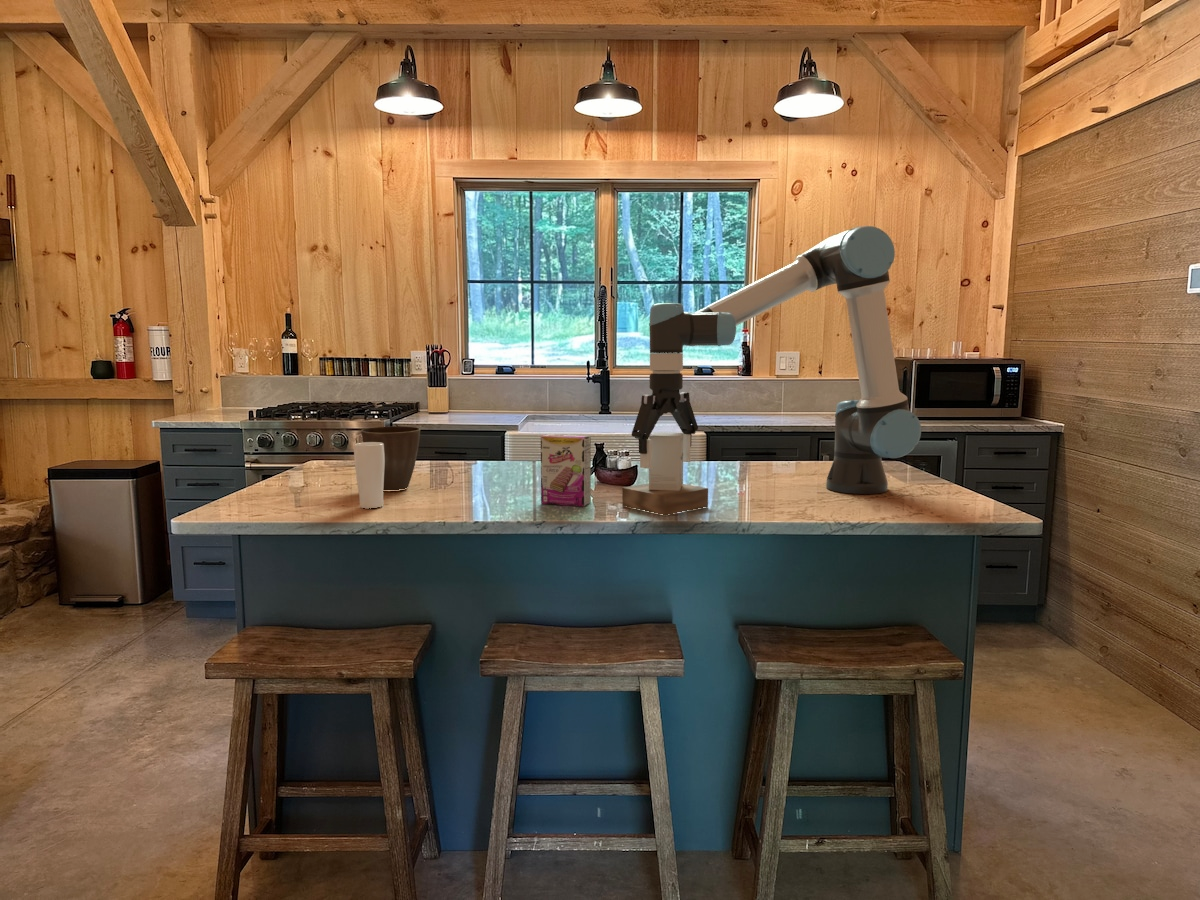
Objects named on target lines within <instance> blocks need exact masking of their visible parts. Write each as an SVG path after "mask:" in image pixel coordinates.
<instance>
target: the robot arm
mask: <svg viewBox="0 0 1200 900" xmlns="http://www.w3.org/2000/svg"><path fill="white" fill-rule="evenodd" d="M895 251H896V250H895V246H894V242H893V240H892V238H891V237H890V236H889V234H888V233H886V231H884V230H882V229H881V228H879V227H877V226H871V225H864V226H857V227H853V228H851V229H848V230H845V231H842V232H840V233H835V234H833V235H831V236H829V237H828V238H826V239H824V240H822V241H821V242H819V243H817V244H816V245H815V246H813V247H811V248H810V249H809V250H807V251H804V252H803V253H801V254H799V255H798V256H797V255H796V257H795V258H794V262H793V263H791V264H788V265H787V266H784V267H782V268H781V269H778V270H777V271H774V272H772V273H770V274H768V275H766V276H764V277H762V278H760V279H758V280H756V281H754V282H752V283H750V284H749V285H746V286H744V287H742V288H740V289H739V290H737V291H735V292H733V293H731V294H729V295H726V296H724V297H722V298H721V299H718V300H717V301H715V302H713V303H711V304H709V305H707V306H706V307H704V308H701V309H698V310H697V311H695V312H689V311H688V312H687V311H685V310H684V305H683V304H682V303H678V302H676V303H674V302H663V303H660V302H658V303H654V304H652V305H651V307H650V311H649V323H648V325H649V371H650V372H652V373H649V389H650V390H651V392H652V393H651V394H642V395H641V402H640V407H639V410H638V413H637V416H636V418H635V422H634V425H633V428H632V430H631V437H634V439H636V440H638V453H639V456H640V457H639V468H643V469H647V470H649V469H650V468H651V439H649V436H650V435H651V434H652V433H653V431H654V429H655V427H656V425H657V423H658V421H659V420H660V417H661V416H663V415H665V414H671V415H672V417H673V419H674V421H675V422H676V424H677V426H678V427H679V429H680V431H681V433H684V436H683V463H685V462H686V463H691V447H692V435H695V434H696V433H697V431H698V430H699V427H698V422H697V420H696V416H695V414H694V411H693V407H692V405H691V401H690V393H689V392H687V391H686V392H685V391H680V390H682V389H683V379H684V378H683V377H684V376H683V374H682V372H681V371H683V370H684V353H683V351H684V350H683V348H684V346H686V347H687V346H688V347H697V346H699V347H700V346H703V347H705V346H707V347H709V346H710V347H711V346H716V347H717V346H718V347H721V346H730V345H732V344H733V343H734V341H735V338H736V335H737V326H739V325H741V324H742V323H744V322H746V321H748V320H751V319H752V318H754V317H757V316H758V315H760V314H763V313H765V312H767V311H768V310H770V309H772V308H775V307H777V306H779V305H781V304H783V303H785V302H787V301H788V300H791V299H792V298H795V297H797V296H799V295H801V294H803V293H805V292H807V291H808V292H811V293H814V292H816V291H818V290H819V289H821V288H824V287H828V286H831V285H835V284H836V289H837V293H838V294H839V295H841V296H843V297H844V299H845V302H846V307H847V308H846V309H847V313H848V314H847V316H848V321H849V327H850V333H851V339H852V347H853V352H854V358H855V364H856V370H857V377H858V382H859V390H860V395H861V397H860V399H858V400H857V399H854V400H843V401H840V402H838V403H837V405H836V408H835V414H834V418H835V421H834V423H835V425H834V426H835V428H834V454H833V455H834V457H833V461H832V464H831V467H830V470H829V472H828V473H827V474H828V475H827V477H826V481H825V482H826V484H825V485H826V486H825V487H826V489H827V490H829V491H833V492H836V493H845V494H854V495H855V494H856V495H857V494H858V495H874V494H882V493H886V492H888V488H889V487H888V485H889V484H888V482H889V481H888V479H887V475H886V471H885V469H884V465H883V462H882V461H883V459H882V458H886V459H888V458H890V459H899V458H901V457H904V456H907V455H908V454H910V453H911V452H912V451H913V450H914V449H915V447H916V446H917V445H918V444H919V442H920V439H921V435H922V425H921V422H920V420H919V418H918V416H917V415H916V414H915V413H913V412H912V411H910V408H909V407H910V405H909V400H908V396H907V395H905V394H904V393H902V392H901V391H900V387H899V380H898V373H897V368H896V362H895V361H896V360H895V355H894V348H893V347H894V346H893V341H892V340H893V339H892V334H891V327H890V322H889V315H888V310H887V309H888V308H887V302H886V295H885V289H886V288H887V287H888V284H889V283H890V280H891V279H890V272H889V270H890V269H891V267H892V264H894V260H895V256H896V254H895V253H896V252H895Z"/></svg>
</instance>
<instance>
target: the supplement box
mask: <svg viewBox="0 0 1200 900" xmlns="http://www.w3.org/2000/svg"><path fill="white" fill-rule="evenodd" d="M683 436H684V433H683V432H652V433H651V434H650V436H649V438H648V439H651V468H650V469H648V483H649V490H668V491H680V488H681V487H682V485H683V484H684V462H683Z"/></svg>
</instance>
